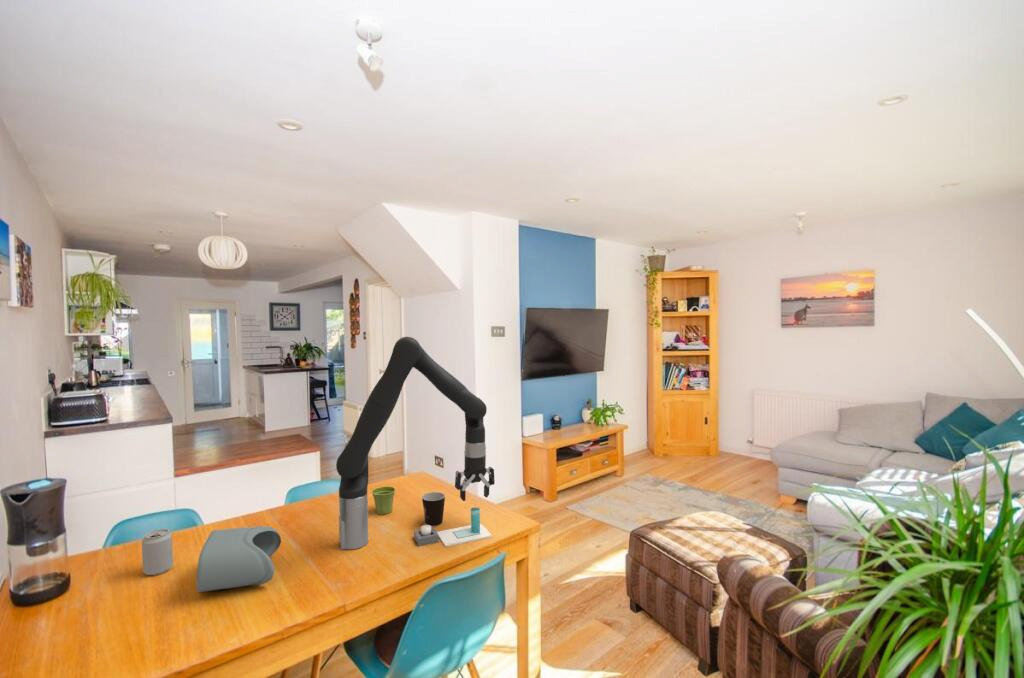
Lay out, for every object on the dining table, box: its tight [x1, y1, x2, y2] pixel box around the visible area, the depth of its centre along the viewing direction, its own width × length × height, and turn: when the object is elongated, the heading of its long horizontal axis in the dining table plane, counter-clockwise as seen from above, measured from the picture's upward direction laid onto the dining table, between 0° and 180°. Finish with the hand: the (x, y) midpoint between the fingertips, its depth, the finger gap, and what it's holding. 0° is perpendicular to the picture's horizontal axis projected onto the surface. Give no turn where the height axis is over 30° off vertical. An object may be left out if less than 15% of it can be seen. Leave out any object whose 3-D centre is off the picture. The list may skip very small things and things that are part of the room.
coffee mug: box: [421, 491, 446, 527], centre depth 182 cm, size 12×9×10 cm
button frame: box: [413, 526, 440, 547], centre depth 167 cm, size 7×7×2 cm
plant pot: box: [371, 485, 397, 515], centre depth 191 cm, size 9×9×9 cm
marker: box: [470, 507, 481, 533], centre depth 171 cm, size 3×3×8 cm
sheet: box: [436, 522, 493, 548], centre depth 170 cm, size 17×11×1 cm, turn 115°
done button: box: [420, 524, 432, 537], centre depth 166 cm, size 4×4×3 cm
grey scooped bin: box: [196, 525, 282, 593], centre depth 144 cm, size 22×19×13 cm
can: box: [141, 528, 174, 576], centre depth 147 cm, size 8×8×12 cm
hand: (474, 498), depth 171 cm, fingers open, 8 cm apart
